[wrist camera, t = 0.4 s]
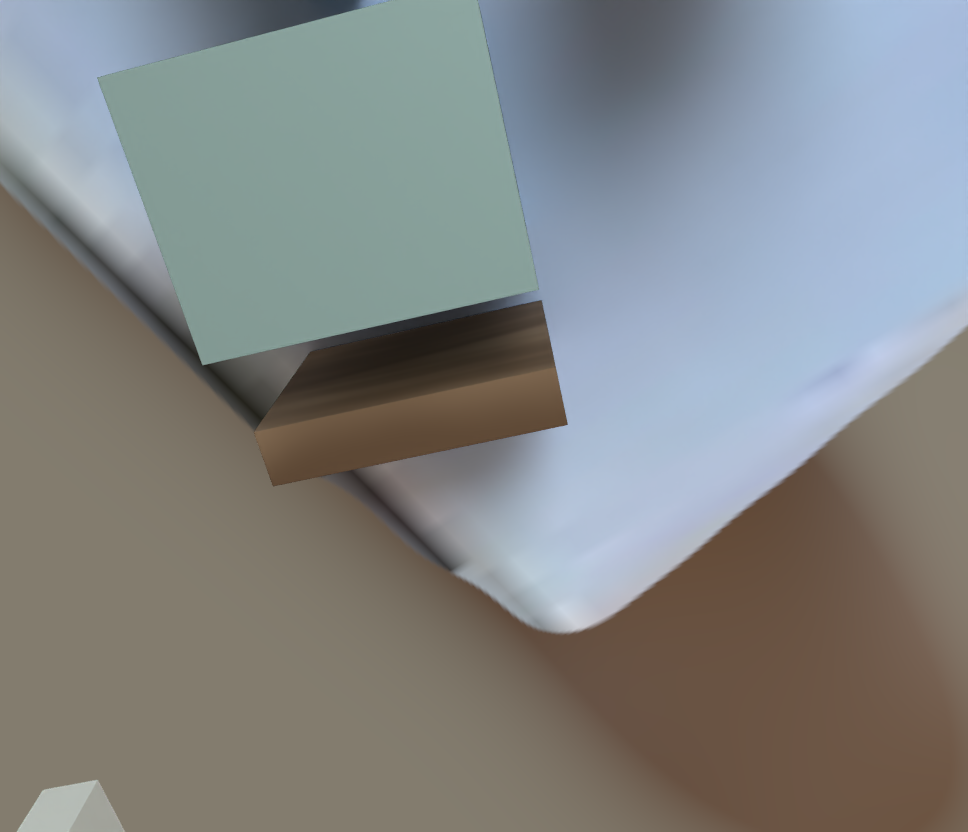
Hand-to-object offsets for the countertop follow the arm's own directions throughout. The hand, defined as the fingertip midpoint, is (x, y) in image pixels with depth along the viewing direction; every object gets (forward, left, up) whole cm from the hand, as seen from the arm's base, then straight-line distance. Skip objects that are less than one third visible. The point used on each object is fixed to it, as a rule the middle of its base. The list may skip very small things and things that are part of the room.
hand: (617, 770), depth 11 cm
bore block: (-7, -5, -26) cm, 27 cm away
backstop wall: (+1, -5, -26) cm, 27 cm away
